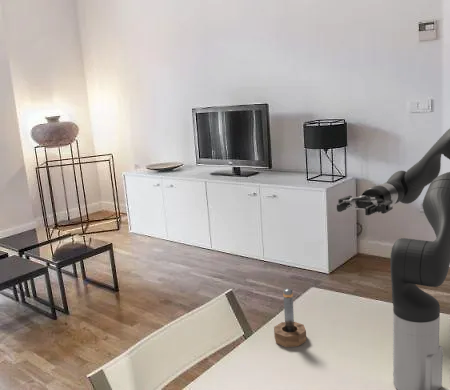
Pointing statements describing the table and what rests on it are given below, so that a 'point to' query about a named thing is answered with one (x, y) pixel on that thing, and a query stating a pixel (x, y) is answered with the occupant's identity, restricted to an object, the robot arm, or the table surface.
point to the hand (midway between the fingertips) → (352, 210)
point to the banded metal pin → (288, 310)
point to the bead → (290, 335)
